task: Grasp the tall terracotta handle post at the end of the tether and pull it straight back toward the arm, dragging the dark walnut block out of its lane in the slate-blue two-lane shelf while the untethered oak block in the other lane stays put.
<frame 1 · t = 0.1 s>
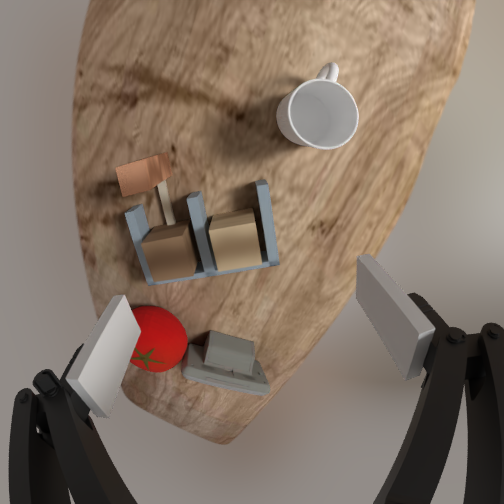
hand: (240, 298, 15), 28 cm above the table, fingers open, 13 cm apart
digital clock: (225, 349, 53), on the table
cup: (307, 106, 36), on the table
lane shelf: (204, 229, 42), on the table
oak block: (236, 229, 43), resting in lane shelf
tomato: (159, 321, 49), on the table
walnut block: (177, 240, 43), on the table
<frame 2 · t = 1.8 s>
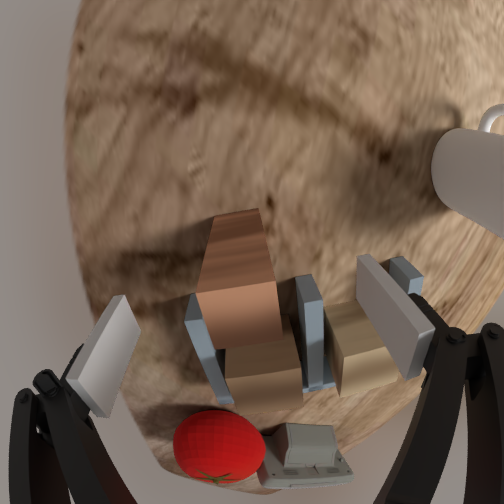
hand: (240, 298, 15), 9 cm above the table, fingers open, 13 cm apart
digital clock: (297, 434, 38), on the table
cup: (461, 151, 20), on the table
lane shelf: (306, 326, 27), on the table
oak block: (350, 323, 27), resting in lane shelf
tomato: (219, 418, 34), on the table
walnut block: (261, 341, 28), on the table
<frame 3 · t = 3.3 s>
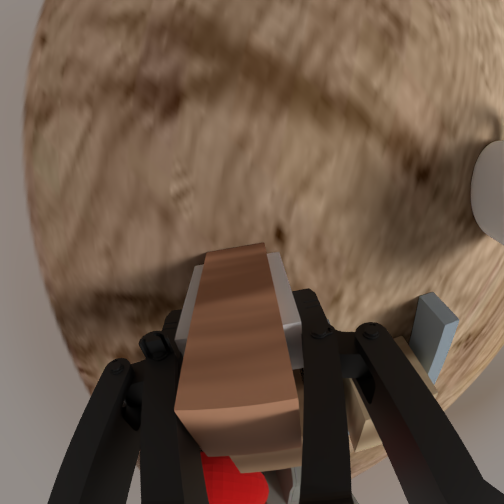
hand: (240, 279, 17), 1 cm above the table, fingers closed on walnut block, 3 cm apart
digital clock: (301, 467, 32), on the table
cup: (500, 167, 15), on the table
lane shelf: (319, 373, 22), on the table
oak block: (368, 366, 22), resting in lane shelf
tomato: (218, 456, 29), on the table
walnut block: (266, 389, 22), on the table, touching gripper
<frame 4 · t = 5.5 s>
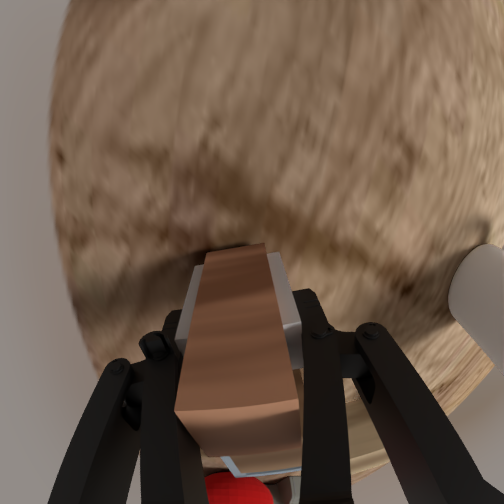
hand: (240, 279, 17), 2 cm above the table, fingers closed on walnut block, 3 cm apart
digital clock: (299, 481, 36), on the table
cup: (481, 263, 20), on the table
lane shelf: (314, 419, 26), on the table
oak block: (353, 413, 27), resting in lane shelf
tomato: (230, 474, 33), on the table
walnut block: (266, 389, 22), point 1 cm above the table, touching gripper
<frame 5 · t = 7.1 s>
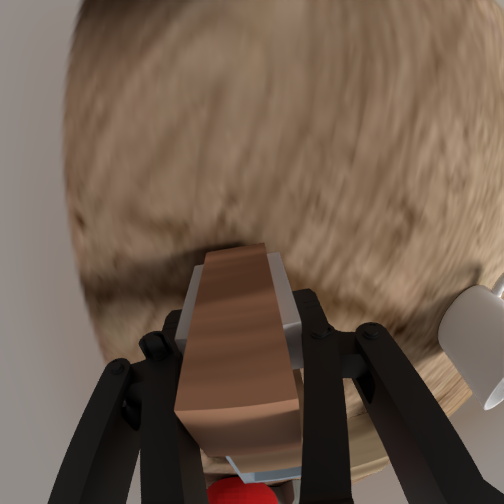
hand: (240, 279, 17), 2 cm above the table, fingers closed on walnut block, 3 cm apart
digital clock: (300, 484, 39), on the table
cup: (471, 300, 22), on the table
lane shelf: (315, 433, 29), on the table
oak block: (350, 427, 29), resting in lane shelf
tomato: (238, 479, 36), on the table
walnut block: (266, 389, 22), point 1 cm above the table, touching gripper
when the fingers open (1 cm above the table, at t = 7.6 s): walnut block stays where it is, on the table.
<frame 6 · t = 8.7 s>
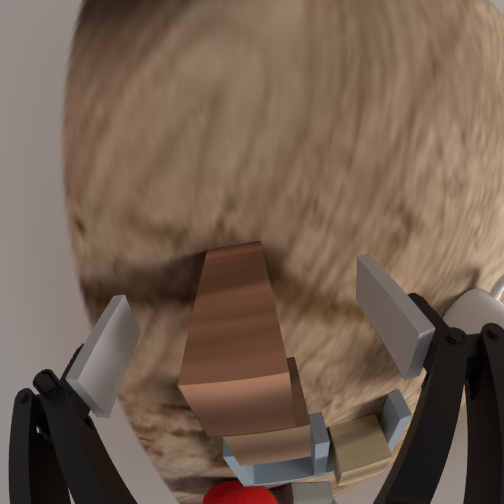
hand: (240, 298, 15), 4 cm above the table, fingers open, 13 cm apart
digital clock: (299, 487, 39), on the table
cup: (470, 303, 22), on the table
lane shelf: (315, 436, 28), on the table
oak block: (350, 430, 29), resting in lane shelf
tomato: (238, 482, 35), on the table
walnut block: (264, 384, 23), on the table
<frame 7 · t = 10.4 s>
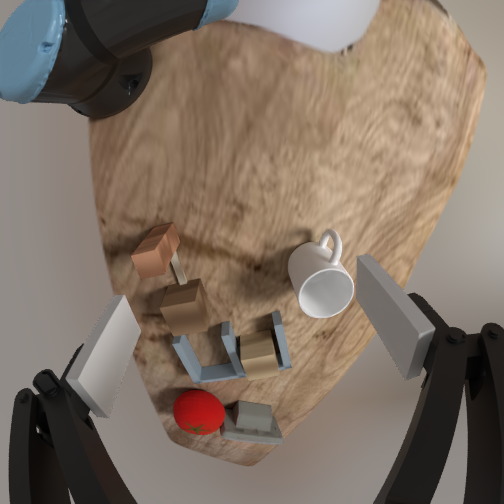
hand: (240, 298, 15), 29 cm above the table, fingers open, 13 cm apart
digital clock: (249, 410, 64), on the table
cup: (313, 252, 46), on the table
lane shelf: (234, 344, 54), on the table
oak block: (258, 343, 54), resting in lane shelf
tomato: (200, 396, 61), on the table
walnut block: (189, 296, 49), on the table
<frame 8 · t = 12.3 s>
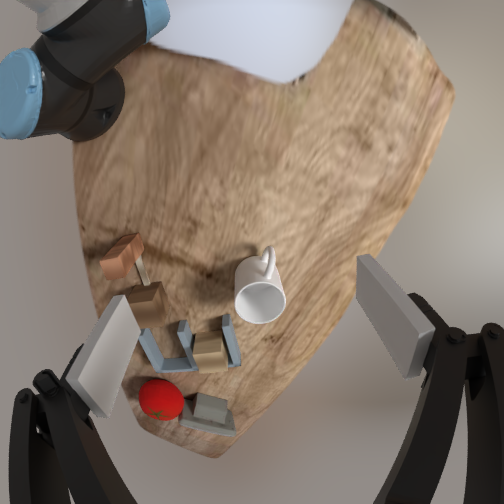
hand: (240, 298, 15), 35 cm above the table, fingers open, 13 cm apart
digital clock: (208, 402, 71), on the table
cup: (259, 265, 53), on the table
lane shelf: (191, 340, 60), on the table
oak block: (212, 341, 60), resting in lane shelf
tomato: (164, 385, 67), on the table
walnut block: (152, 295, 55), on the table
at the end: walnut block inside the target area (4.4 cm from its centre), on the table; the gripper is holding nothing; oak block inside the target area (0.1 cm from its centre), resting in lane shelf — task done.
